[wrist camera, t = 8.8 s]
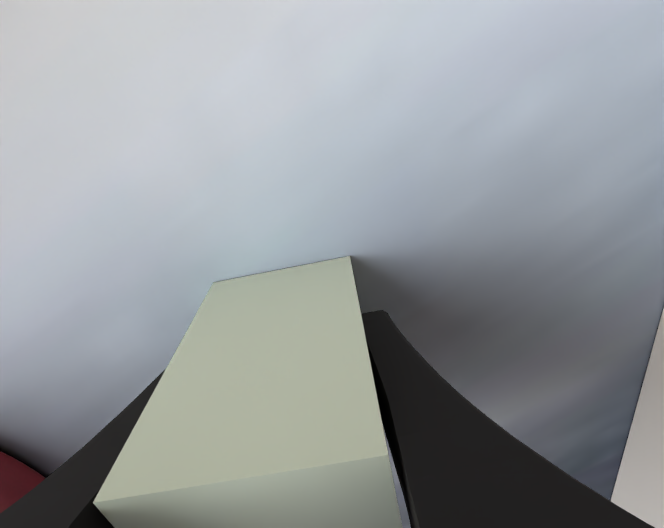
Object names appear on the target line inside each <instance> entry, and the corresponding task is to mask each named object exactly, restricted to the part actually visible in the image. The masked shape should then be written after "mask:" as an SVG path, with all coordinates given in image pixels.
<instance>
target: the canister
mask: <svg viewBox="0 0 664 528" xmlns="http://www.w3.org/2000/svg"><path fill="white" fill-rule="evenodd" d="M44 479H46V478H45V477H44V476H43V475H41V474H40V473H38V472H37V471H35V470H34V469H32V468H31V467H29V466H27V465H26V464H24V463H22V462H21V461H19V460H17V459H15V458H13V457H12V456H10V455H8V454H6V453H3V452H1V451H0V513H2V512H3V511H4V510H6V509H7V508H8V507H10V506H11V505H12V504H14V503H15V502H16V501H18V500H19V499H20V498H22V497H23V496H24V495H26V494H27V493H28V492H29V491H31V490H32V489H33V488H35V487H36V486H37V485H38V484H39V483H41V482H42V481H43V480H44Z"/></svg>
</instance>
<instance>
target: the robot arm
mask: <svg viewBox="0 0 664 528" xmlns="http://www.w3.org/2000/svg"><path fill="white" fill-rule="evenodd" d="M361 316H362V321H363V327H364V332H365V337H366V342H367V347H368V352H369V358H370V363H371V368H372V373H373V378H374V383H375V389H376V394H377V399H378V404H379V409H380V414H381V419H382V423H383V426H384V430H385V433H386V437H387V440H388V444H389V447H390V450H391V454H392V457H393V461H394V464H395V468H396V471H397V474H398V478H399V481H400V485H401V488H402V492H403V495H404V499H405V503H406V507H407V511H408V515H409V520H410V524H411V528H655V527H653V526H651V525H650V524H648V523H646V522H644V521H643V520H641V519H639V518H638V517H636V516H634V515H632V514H631V513H629V512H627V511H626V510H624V509H622V508H621V507H619V506H617V505H616V504H614V503H613V502H611V501H609V500H608V499H606V498H605V497H603V496H601V495H600V494H598V493H597V492H595V491H593V490H592V489H590V488H589V487H587V486H585V485H584V484H582V483H581V482H579V481H578V480H576V479H574V478H573V477H571V476H570V475H568V474H567V473H565V472H564V471H562V470H561V469H559V468H558V467H557V466H555V465H554V464H552V463H551V462H549V461H548V460H546V459H545V458H544V457H542V456H541V455H539V454H538V453H536V452H535V451H533V450H532V449H530V448H529V447H528V446H526V445H525V444H523V443H522V442H520V441H519V440H517V439H516V438H515V437H513V436H512V435H510V434H509V433H508V432H507V431H505V430H504V429H503V428H501V427H500V426H499V425H497V424H496V423H495V422H494V421H492V420H491V419H490V418H488V417H487V416H486V415H485V414H483V413H482V412H481V411H480V410H479V409H477V408H476V407H475V406H474V405H472V404H471V403H470V402H469V401H468V400H467V399H465V398H464V397H463V396H462V395H461V394H460V393H459V392H457V391H456V390H455V389H454V388H453V387H452V386H451V385H450V384H449V383H448V382H447V381H446V380H444V379H443V378H442V377H441V376H440V375H439V374H438V373H437V372H436V371H435V370H434V369H433V368H432V367H431V366H430V365H429V364H428V363H427V362H426V361H425V360H424V359H423V357H422V356H421V355H420V354H419V353H418V352H417V351H416V350H415V349H414V348H413V347H412V345H411V344H410V343H409V342H408V341H407V340H406V338H405V337H404V336H403V335H402V333H401V332H400V331H399V330H398V328H397V327H396V326H395V324H394V323H393V321H392V320H391V318H390V317H389V315H388V313H387V312H385V311H383V310H380V311H375V312H369V313H364V314H361ZM165 370H166V369H165ZM165 370H164V371H163V372H162V373H161V374H160V375H159V376H158V377H157V378H156V379H155V380H154V381H153V382H152V383H151V384H150V385H149V386H148V387H147V388H146V389H145V390H144V391H143V392H142V393H141V394H140V395H139V396H138V397H137V398H136V399H135V400H134V401H133V402H131V403H130V404H129V405H128V406H127V407H126V408H125V409H124V410H123V411H122V412H121V413H120V414H119V415H118V416H117V417H115V418H114V419H113V420H112V421H111V422H110V423H109V424H108V425H107V426H106V427H105V428H104V429H102V430H101V431H100V432H99V433H98V434H97V435H96V436H95V437H94V438H93V439H92V440H91V441H89V442H88V443H87V444H86V445H85V446H84V447H83V448H82V449H80V450H79V451H78V452H77V453H76V454H75V455H73V456H72V457H71V458H70V459H69V460H68V461H66V462H65V463H64V464H63V465H62V466H60V467H59V468H58V469H57V470H55V471H54V472H53V473H52V474H51V475H49V476H48V477H47V478H46V479H44V480H43V481H42V482H41V483H39V484H38V485H37V486H36V487H35V488H33V489H32V490H31V491H29V492H28V493H27V494H26V495H24V496H23V497H22V498H20V499H19V500H18V501H16V502H15V503H14V504H12V505H11V506H10V507H8V508H7V509H6V510H4V511H3V512H2V513H0V528H114V527H113V525H112V524H111V523H110V522H109V521H108V520H107V518H106V517H105V516H104V515H103V514H102V513H101V512H100V510H99V509H98V508H97V507H96V506H95V505H94V504H93V502H94V500H95V498H96V496H97V494H98V492H99V491H100V489H101V487H102V485H103V483H104V482H105V480H106V478H107V476H108V474H109V472H110V471H111V469H112V467H113V465H114V463H115V461H116V460H117V458H118V456H119V454H120V452H121V450H122V449H123V447H124V445H125V443H126V441H127V439H128V438H129V436H130V434H131V432H132V430H133V428H134V427H135V425H136V423H137V421H138V419H139V417H140V416H141V414H142V412H143V410H144V408H145V407H146V405H147V403H148V401H149V399H150V397H151V396H152V394H153V392H154V390H155V388H156V386H157V385H158V383H159V381H160V379H161V377H162V375H163V374H164V372H165Z"/></svg>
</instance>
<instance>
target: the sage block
mask: <svg viewBox="0 0 664 528" xmlns="http://www.w3.org/2000/svg"><path fill="white" fill-rule="evenodd" d="M93 504H94V505H95V506H96V507H97V508H98V509H99V510H100V512H101V513H102V514H103V515H104V516H105V517H106V518H107V520H108V521H109V522H110V523H111V524H112V525H113V527H114V528H402V523H401V518H400V512H399V507H398V502H397V497H396V492H395V487H394V481H393V476H392V471H391V466H390V461H389V456H388V450H387V445H386V440H385V435H384V430H383V425H382V419H381V414H380V409H379V404H378V399H377V394H376V389H375V383H374V378H373V373H372V368H371V363H370V358H369V352H368V347H367V342H366V337H365V332H364V327H363V321H362V316H361V311H360V306H359V301H358V296H357V290H356V285H355V280H354V275H353V270H352V265H351V260H350V256H347V257H342V258H337V259H332V260H327V261H322V262H316V263H311V264H306V265H301V266H296V267H291V268H286V269H280V270H275V271H270V272H265V273H260V274H255V275H250V276H244V277H239V278H234V279H229V280H224V281H219V282H214V283H213V284H212V286H211V288H210V289H209V291H208V293H207V295H206V297H205V299H204V300H203V302H202V304H201V306H200V308H199V310H198V311H197V313H196V315H195V317H194V319H193V321H192V322H191V324H190V326H189V328H188V330H187V331H186V333H185V335H184V337H183V339H182V341H181V342H180V344H179V346H178V348H177V350H176V352H175V353H174V355H173V357H172V359H171V361H170V363H169V364H168V366H167V368H166V370H165V372H164V374H163V375H162V377H161V379H160V381H159V383H158V385H157V386H156V388H155V390H154V392H153V394H152V396H151V397H150V399H149V401H148V403H147V405H146V407H145V408H144V410H143V412H142V414H141V416H140V417H139V419H138V421H137V423H136V425H135V427H134V428H133V430H132V432H131V434H130V436H129V438H128V439H127V441H126V443H125V445H124V447H123V449H122V450H121V452H120V454H119V456H118V458H117V460H116V461H115V463H114V465H113V467H112V469H111V471H110V472H109V474H108V476H107V478H106V480H105V482H104V483H103V485H102V487H101V489H100V491H99V492H98V494H97V496H96V498H95V500H94V502H93Z"/></svg>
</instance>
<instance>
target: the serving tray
mask: <svg viewBox="0 0 664 528" xmlns="http://www.w3.org/2000/svg"><path fill="white" fill-rule="evenodd" d="M611 502H613V503H614V504H616V505H617V506H619V507H621V508H622V509H624V510H626V511H627V512H629V513H631V514H632V515H634V516H636V517H638V518H639V519H641V520H643V521H644V522H646V523H648V524H650V525H651V526H653V527H655V528H664V309H663V312H662V316H661V320H660V323H659V327H658V330H657V334H656V338H655V341H654V345H653V349H652V352H651V356H650V360H649V363H648V367H647V370H646V374H645V378H644V381H643V385H642V389H641V392H640V396H639V399H638V403H637V407H636V410H635V414H634V418H633V421H632V425H631V429H630V432H629V436H628V439H627V443H626V447H625V450H624V454H623V458H622V461H621V465H620V468H619V472H618V476H617V479H616V483H615V487H614V490H613V494H612V497H611Z"/></svg>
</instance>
